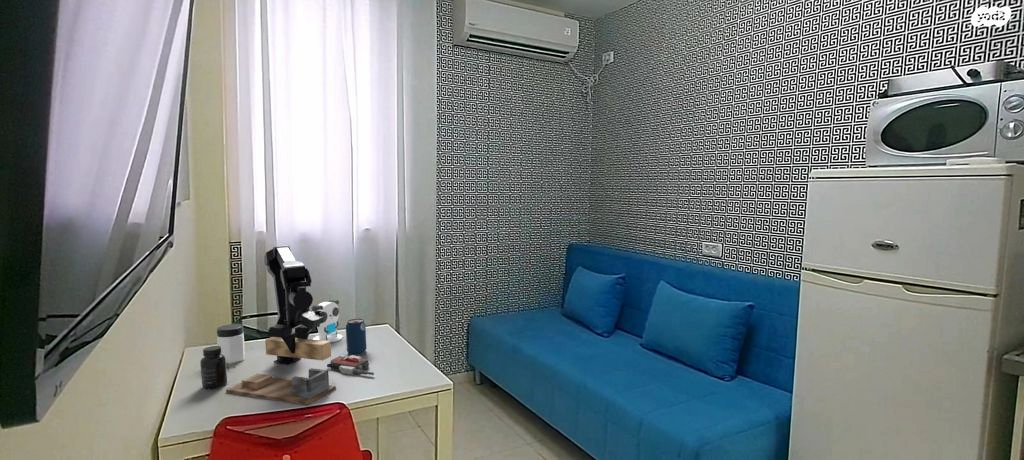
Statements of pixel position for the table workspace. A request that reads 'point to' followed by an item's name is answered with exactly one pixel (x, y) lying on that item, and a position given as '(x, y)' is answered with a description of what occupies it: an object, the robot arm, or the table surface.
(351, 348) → the soda can
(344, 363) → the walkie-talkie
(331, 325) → the panda figurine
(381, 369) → the table surface
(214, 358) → the supplement bottle
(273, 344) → the oak rail
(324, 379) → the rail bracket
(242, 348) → the jar
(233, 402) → the table surface
